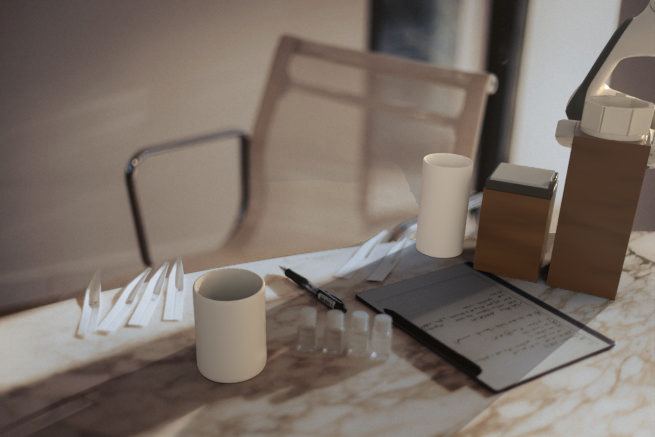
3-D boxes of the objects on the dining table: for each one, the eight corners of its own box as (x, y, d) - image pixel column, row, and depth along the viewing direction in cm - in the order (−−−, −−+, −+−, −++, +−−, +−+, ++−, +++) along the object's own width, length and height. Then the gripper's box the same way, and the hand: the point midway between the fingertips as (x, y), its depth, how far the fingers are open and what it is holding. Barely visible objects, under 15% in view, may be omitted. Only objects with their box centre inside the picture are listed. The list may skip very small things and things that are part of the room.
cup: (437, 262, 104) (447, 171, 97) (405, 244, 110) (412, 157, 104) (472, 251, 108) (484, 163, 102) (440, 234, 114) (449, 150, 108)
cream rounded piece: (589, 106, 106) (594, 80, 105) (647, 112, 103) (653, 85, 101) (577, 135, 88) (583, 104, 86) (647, 144, 85) (655, 112, 83)
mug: (277, 373, 75) (276, 293, 71) (207, 391, 72) (202, 309, 67) (245, 323, 85) (242, 251, 81) (182, 337, 82) (177, 262, 77)
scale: (497, 170, 105) (499, 160, 104) (557, 180, 101) (559, 169, 100) (485, 188, 96) (486, 177, 96) (549, 199, 93) (551, 188, 92)
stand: (486, 245, 110) (504, 112, 101) (617, 272, 102) (650, 129, 93) (472, 269, 102) (491, 125, 92) (614, 300, 93) (651, 146, 84)
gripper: (558, 125, 127) (557, 102, 115) (670, 138, 119) (682, 115, 107) (552, 155, 127) (550, 135, 114) (664, 170, 119) (675, 150, 106)
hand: (615, 125), depth 110 cm, fingers open, 8 cm apart
